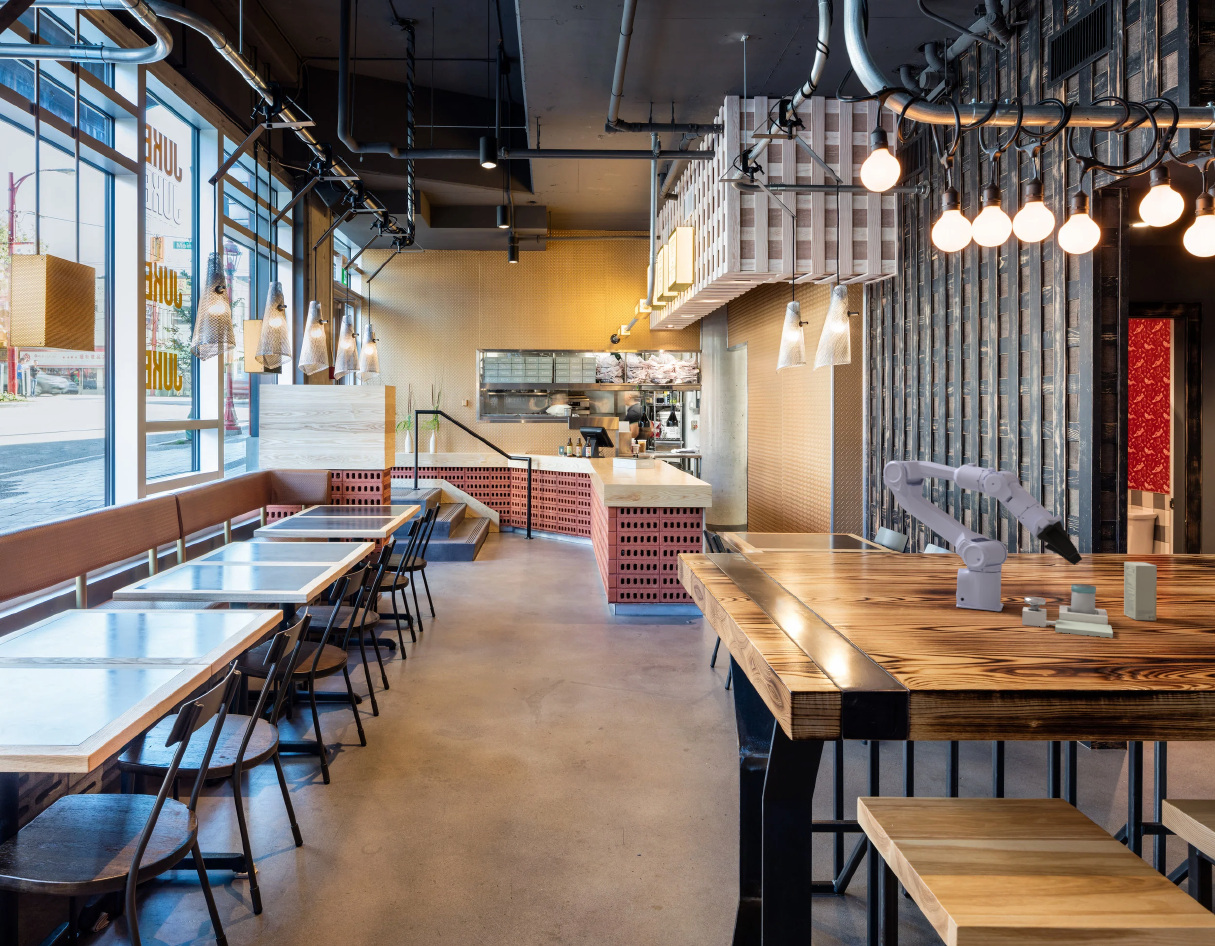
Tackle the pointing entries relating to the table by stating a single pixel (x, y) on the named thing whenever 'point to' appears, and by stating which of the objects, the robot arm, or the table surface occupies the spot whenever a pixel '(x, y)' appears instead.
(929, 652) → the table surface
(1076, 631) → the pad
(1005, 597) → the table surface
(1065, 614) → the holder
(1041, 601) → the plunger
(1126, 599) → the skincare box
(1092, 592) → the cartridge
